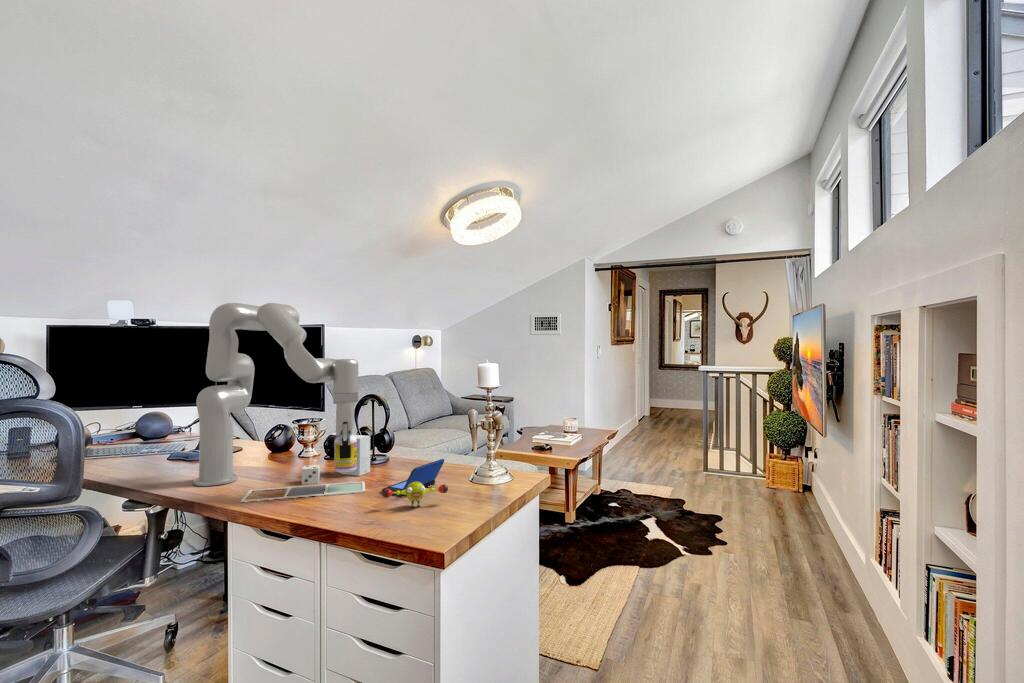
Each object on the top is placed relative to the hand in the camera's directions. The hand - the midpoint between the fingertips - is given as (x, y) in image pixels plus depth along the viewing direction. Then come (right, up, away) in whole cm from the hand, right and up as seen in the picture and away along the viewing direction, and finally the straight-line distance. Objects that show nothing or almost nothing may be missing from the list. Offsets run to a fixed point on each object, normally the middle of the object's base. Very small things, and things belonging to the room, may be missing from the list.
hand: (345, 455), depth 153 cm
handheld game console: (+21, -11, -1) cm, 24 cm away
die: (-14, -11, +8) cm, 20 cm away
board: (-11, -10, -4) cm, 15 cm away
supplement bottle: (0, -5, 0) cm, 5 cm away
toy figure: (+25, -10, -18) cm, 33 cm away
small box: (-3, -11, +20) cm, 23 cm away
